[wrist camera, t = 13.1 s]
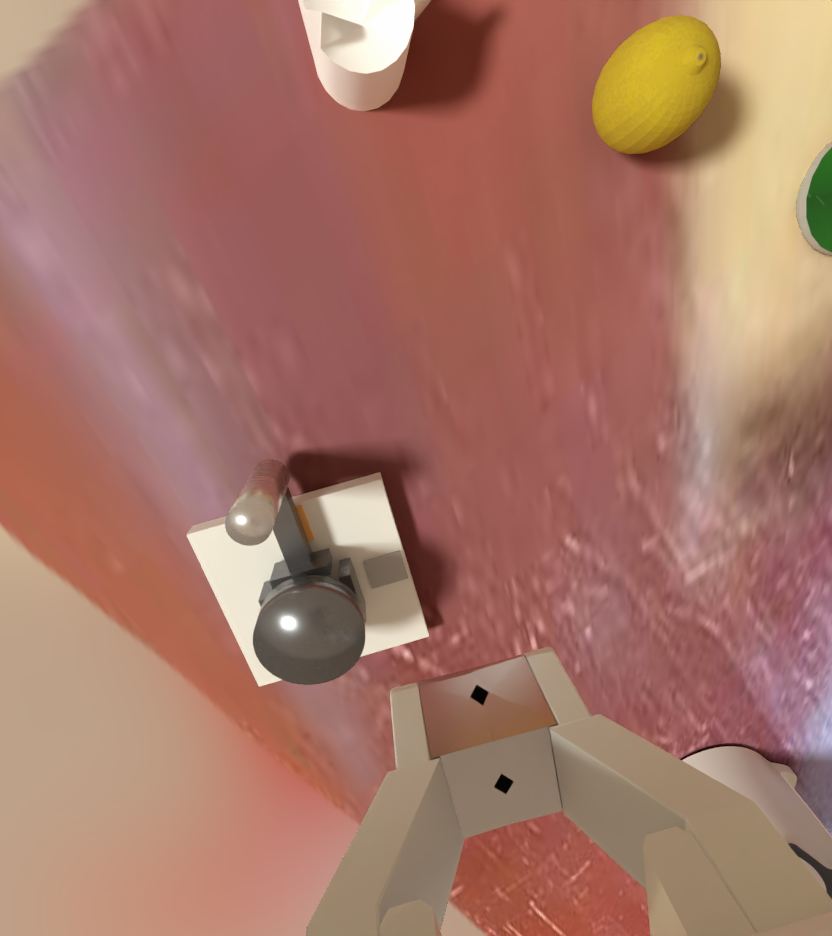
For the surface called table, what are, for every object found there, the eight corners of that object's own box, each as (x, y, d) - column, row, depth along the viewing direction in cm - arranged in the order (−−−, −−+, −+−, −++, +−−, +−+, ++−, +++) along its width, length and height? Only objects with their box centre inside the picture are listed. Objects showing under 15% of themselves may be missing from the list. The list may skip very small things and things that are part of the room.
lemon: (583, 183, 31) (656, 145, 23) (560, 84, 29) (631, 8, 21) (664, 148, 31) (764, 99, 23) (646, 46, 29) (748, -43, 21)
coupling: (316, 445, 32) (306, 486, 25) (374, 617, 37) (379, 692, 30) (213, 474, 32) (174, 523, 25) (285, 642, 37) (269, 724, 30)
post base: (426, 624, 40) (436, 667, 36) (262, 673, 40) (250, 722, 35) (380, 471, 36) (384, 498, 31) (193, 525, 35) (168, 560, 30)
